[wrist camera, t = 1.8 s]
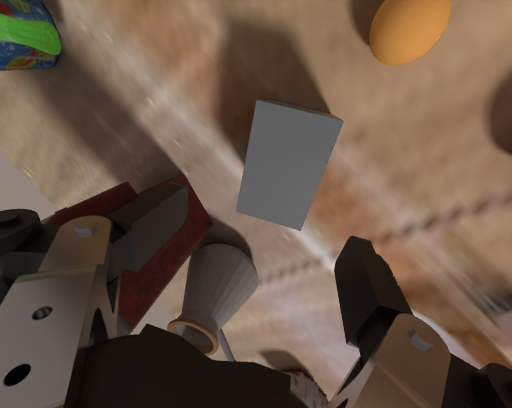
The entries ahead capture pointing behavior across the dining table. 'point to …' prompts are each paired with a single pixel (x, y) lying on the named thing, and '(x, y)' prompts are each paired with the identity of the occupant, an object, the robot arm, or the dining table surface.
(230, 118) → the dining table surface
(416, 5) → the ball
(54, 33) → the snack cup
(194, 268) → the coffee pot
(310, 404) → the food item
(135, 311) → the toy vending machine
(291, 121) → the grey rectangular box
